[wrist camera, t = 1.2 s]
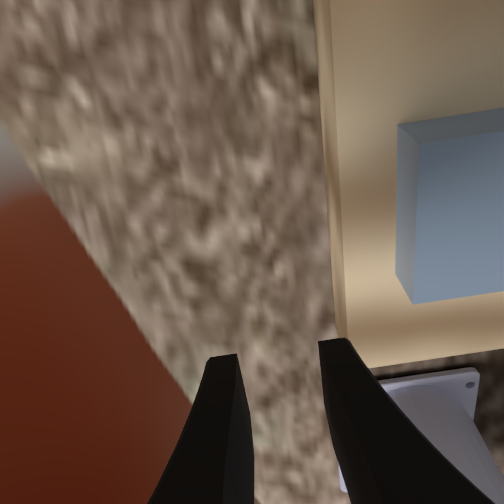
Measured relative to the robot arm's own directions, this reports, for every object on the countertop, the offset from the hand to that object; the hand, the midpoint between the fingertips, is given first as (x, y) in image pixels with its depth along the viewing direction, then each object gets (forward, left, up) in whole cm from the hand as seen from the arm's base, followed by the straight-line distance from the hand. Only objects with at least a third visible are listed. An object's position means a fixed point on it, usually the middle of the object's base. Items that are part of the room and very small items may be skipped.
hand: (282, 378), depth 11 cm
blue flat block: (0, -10, -7) cm, 12 cm away
